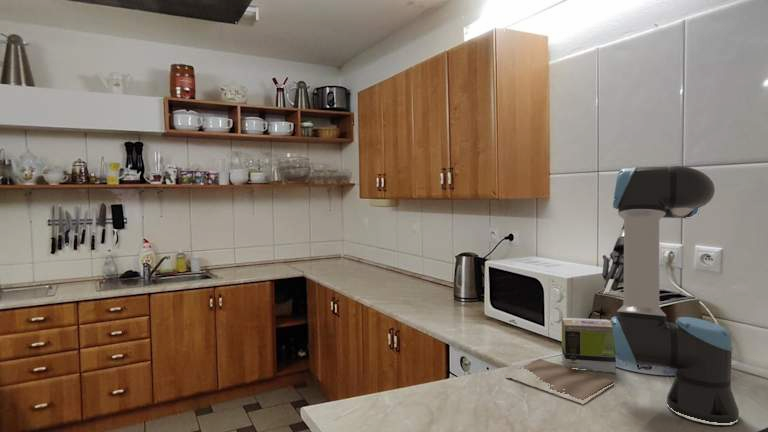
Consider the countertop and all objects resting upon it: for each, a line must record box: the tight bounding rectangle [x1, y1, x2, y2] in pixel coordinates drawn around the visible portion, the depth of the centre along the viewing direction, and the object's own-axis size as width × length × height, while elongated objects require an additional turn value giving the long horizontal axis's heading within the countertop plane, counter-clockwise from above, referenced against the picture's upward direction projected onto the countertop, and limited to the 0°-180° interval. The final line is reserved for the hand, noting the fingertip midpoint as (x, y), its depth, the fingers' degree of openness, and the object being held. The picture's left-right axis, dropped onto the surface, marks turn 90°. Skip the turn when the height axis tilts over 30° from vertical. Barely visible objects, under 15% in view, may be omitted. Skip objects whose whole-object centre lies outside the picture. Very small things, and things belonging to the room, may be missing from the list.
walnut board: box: [519, 358, 615, 400], centre depth 138 cm, size 24×19×1 cm
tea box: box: [561, 317, 617, 374], centre depth 149 cm, size 15×10×15 cm
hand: (606, 296), depth 158 cm, fingers closed
